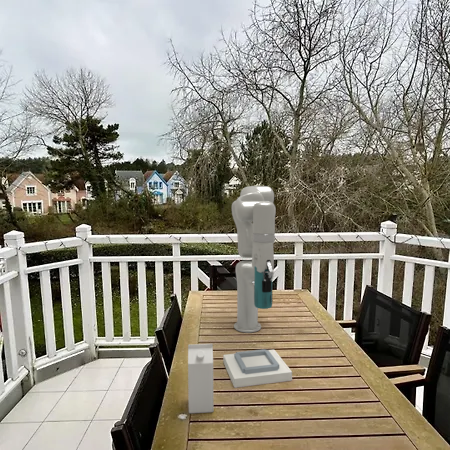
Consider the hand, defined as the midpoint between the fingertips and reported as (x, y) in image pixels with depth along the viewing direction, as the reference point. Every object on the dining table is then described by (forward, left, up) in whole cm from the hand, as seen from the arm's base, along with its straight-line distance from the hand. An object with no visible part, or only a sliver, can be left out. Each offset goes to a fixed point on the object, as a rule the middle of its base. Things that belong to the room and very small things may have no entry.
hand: (263, 288), depth 121 cm
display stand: (+1, -3, -30) cm, 30 cm away
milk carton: (+16, -25, -30) cm, 42 cm away
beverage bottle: (0, 0, -8) cm, 8 cm away
